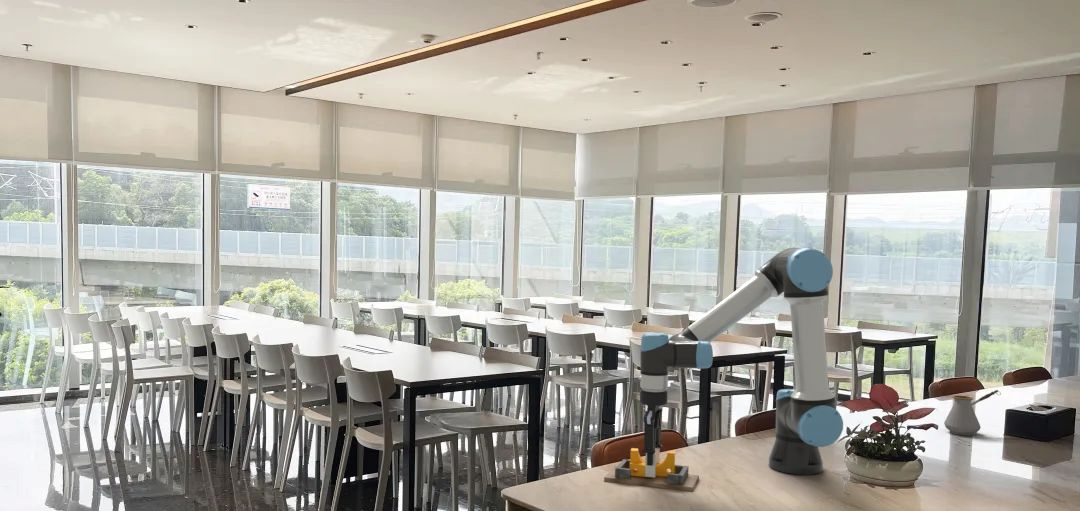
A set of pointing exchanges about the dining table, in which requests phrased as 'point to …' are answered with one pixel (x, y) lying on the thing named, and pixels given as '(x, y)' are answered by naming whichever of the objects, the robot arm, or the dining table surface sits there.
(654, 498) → the dining table surface
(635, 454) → the pipe clamp
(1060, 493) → the dining table surface
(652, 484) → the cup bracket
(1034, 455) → the dining table surface
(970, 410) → the coffee pot
